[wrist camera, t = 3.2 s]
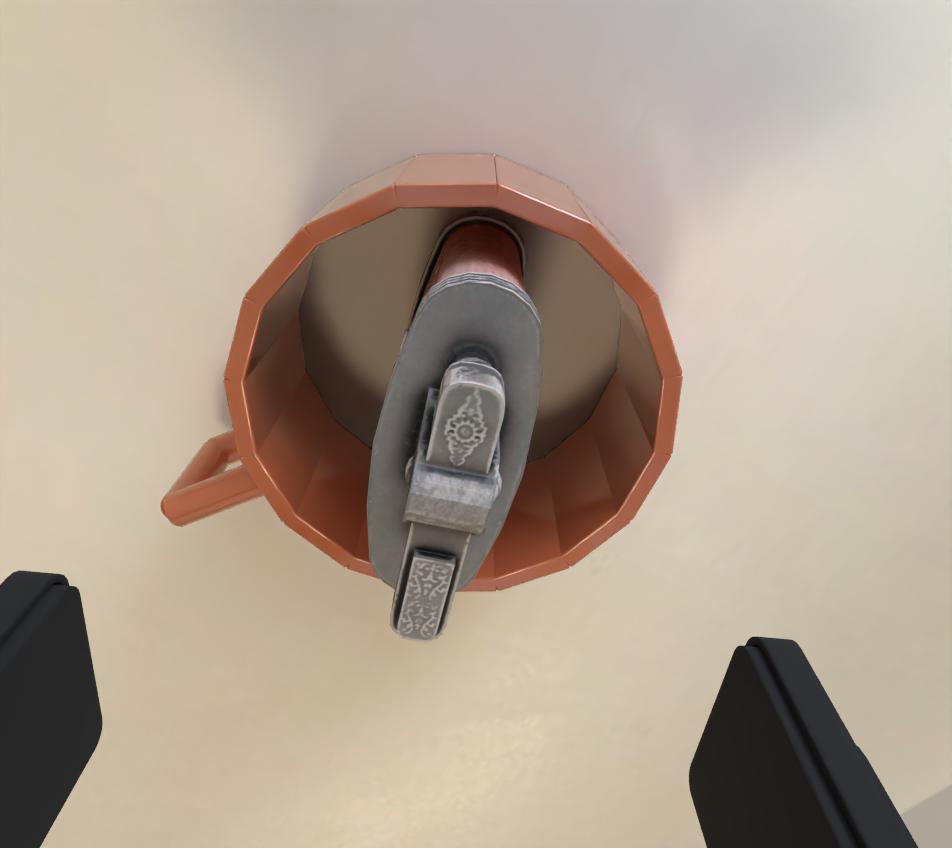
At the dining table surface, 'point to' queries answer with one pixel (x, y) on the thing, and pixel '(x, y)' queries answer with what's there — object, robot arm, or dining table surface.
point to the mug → (349, 460)
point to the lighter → (454, 421)
